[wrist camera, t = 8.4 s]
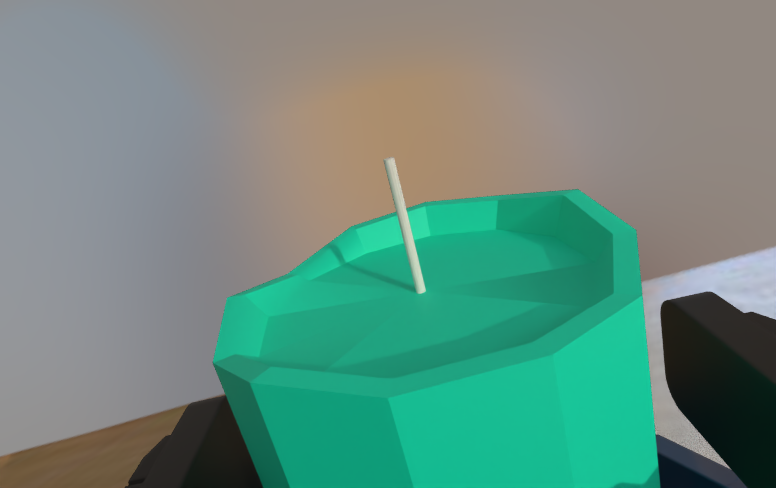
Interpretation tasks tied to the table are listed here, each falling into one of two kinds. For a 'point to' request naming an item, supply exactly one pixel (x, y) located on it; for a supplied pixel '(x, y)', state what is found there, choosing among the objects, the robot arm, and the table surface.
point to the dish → (691, 468)
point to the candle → (450, 352)
